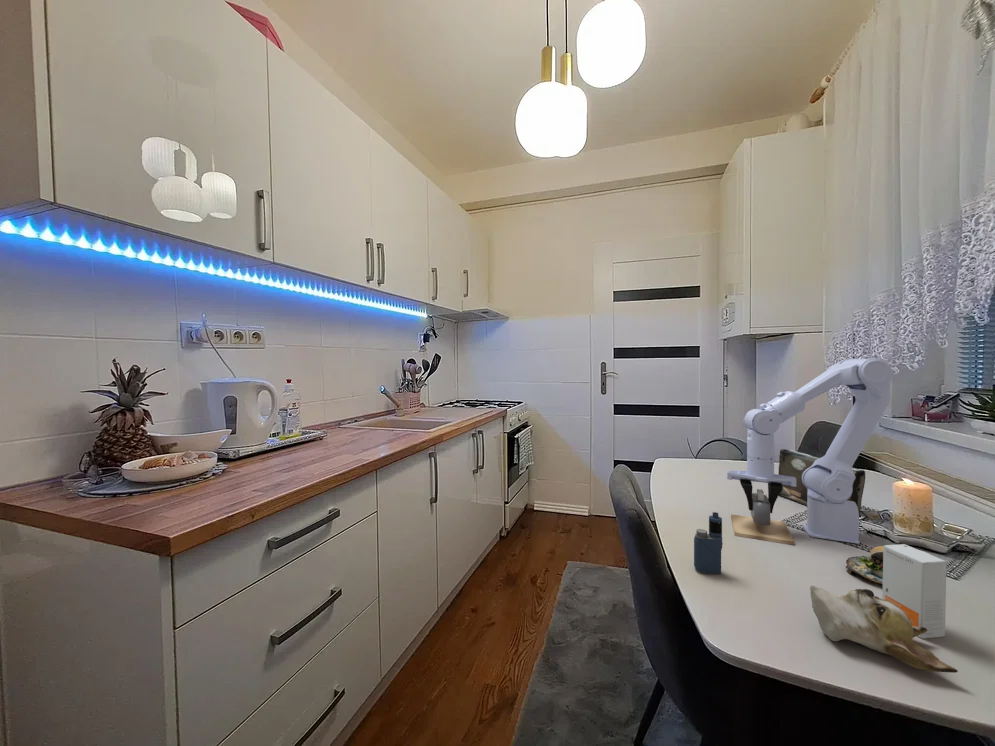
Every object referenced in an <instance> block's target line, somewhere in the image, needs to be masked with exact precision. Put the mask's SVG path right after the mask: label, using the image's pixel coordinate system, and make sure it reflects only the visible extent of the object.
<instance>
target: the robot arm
mask: <svg viewBox="0 0 995 746" xmlns="http://www.w3.org/2000/svg"><path fill="white" fill-rule="evenodd" d="M895 376H896V374H895V373H894V371H893V370H892V368H891V366H890V364H889V363H888V362H887V361H886V360H884V359H882V358H879V357H870V358H849V357H848V358H845V359H842V360H840V361H839V362H838V363H835V364H833V365H831V366H830V367H828V369H827V370H825V371H824V372H823V373H821V374H819V375H818V376H816V377H814V378H813V379H812V380H810V381H809V382H807V383H806V384H805V385H803V386H801V387H800V388H798V389H797V390H796V391H790V390H787V391H779V392H778V393H776V397H774V398H772V399H771V400H770V401H768V402H765V403H761V404H759V408H753V409H751V410H749V411H747V412H746V414H745V415H744V418H743V419H742V423H743V425H744V427H745V428H746V431H747V435H746V436H747V438H746V470H726V479H727V480H728V481H731V480H737V481H739V482H740V485H741V488H742V489H743V492H744V494H745V496H746V501H747V507H748V510H749V511H750V512H751V511H752V508H753V505H752V493H753V482H755V483H765V484H767V498H768V500H769V502H770V514H773V510H774V506H775V504H776V502H777V499H778V498H779V496H780V495H779V494H780V493H781V492H782V489H783V487H782V485H790V486H794V487H796V478H795V477H790V476H784V475H779V473H778V474H777V473H775V433H776V432H778V430H779V428H780V425H781V424H783V423H784V422H786V421H788V420H790V419H791V418H792V417H794V416H796V415H798V414H799V413H802V412H803V411H804V410H805V409H806V404H807V403H808V402H809V401H812V400H813V399H815V398H817V397H819V396H821V395H822V394H825V393H827V392H829V391H831V390H832V389H834V388H836V387H838V386H845V387H846V388H847V389H849V390H850V392H851V393H852V394H853V396H854V398H855V401H854V403H853V406H852V407H851V409H850V410H849V412H848V414H847V416H846V418H845V419H844V421H843V422H842V425H841V427H839V430H838V431H837V434H836V435H835V437H834V438H833V440H832V442H831V444H830V446H829V448H828V449H827V451H826V453H825V454H824V455H823V456H822V457H818V458H819V459H817V460H815V461H814V463H813V465H812V466H811V467H809V468H808V469H806V470H805V471H804V472H803V474H802V482H803V484H804V485H805V486H806V487H807V495H808V496H807V508H806V514H807V515H806V517H807V518H806V519H807V520H806V521H807V522H806V523H804V522H803V523H802V527H803V528H804V531H805V532H806V534H807V535H808V536H809V537H812V538H818V539H823V540H829V541H830V540H831V541H836V542H844V543H851V544H857V545H858V544H861V541H860V519H859V512H858V507H857V505H856V503H855V502H853V501H848V500H847V499H848V498H849V497H850V496H851V495H852V491H853V488H852V485H853V482H854V480H855V478H856V477H855V475H854V472H853V470H852V467H853V466H854V464H855V463H856V460H857V459H858V458H859V455H860V454H861V452H862V451H863V448H864V447H865V446H866V445H865V444H867V442H868V440H869V438H870V436H871V434H872V433H873V431H874V429H875V428H876V426H877V424H878V423H879V421H880V419H881V417H882V415H883V414H884V412H885V411H886V409H887V407H888V405H889V403H890V401H891V382H892V381H893V379H894V377H895Z"/></svg>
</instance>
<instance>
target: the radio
mask: <svg viewBox="0 0 995 746" xmlns="http://www.w3.org/2000/svg"><path fill="white" fill-rule="evenodd" d="M778 457H779V459H778V475H784V476H790V477H795V478H796V487H794V486H790V485H782V487H783V489H782V492H781V493H780V494H779V496H781V497H783V498H786V499H787V500H791V501H793V502H796V503H798V504H801V505H804V506H807V496H808V495H807V487H806V486H805V485H804V484H803V482H802V474H803V472H804V471H805V470H806V469H808V468H809V467H811V466H812V465H813V463H814V461H815V460H817V459H819V458H820V457H816V456H813V455H811V454H807V453H804V452H799V451H795V450H793V449H786V448H781V449H780V450H779V456H778ZM852 470H853V472H854V475H855V477H856V478H855V480H854V482H853V485H852V488H853V491H852V495H851V496H850V497H849V498H848V499H847V500H848V501H853V502H855V503H856V505H857V507H858V512H859V517H861V516H863V515H862V514H861V508H862V502H863V501H862V499H863V494H864V490H865V483H866V482H865V481H866V471H865V470H863V469H859V468H855V467H853V466H852Z"/></svg>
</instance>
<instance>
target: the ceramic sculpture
mask: <svg viewBox="0 0 995 746" xmlns="http://www.w3.org/2000/svg"><path fill="white" fill-rule="evenodd" d="M809 591H810V599H811V608H812V611H813V613H814V614H815V617H816V618H817V621H818V624H819V627H820V630H821V631H822V632H823V634H824V635H826V637H828V638H829V640H830V641H833V642H839V641H841V640H848V641H852V642H855V643H858V644H859V645H863V646H864V647H866V648H869V649H871V650H874V651H876V652H878V653H879V652H880V653H882V654H886V655H889V656H891V657H894V658H895V659H897V660H898V661H901V663H904V664H907V665H908V666H910V667H912V668H915V669H918V670H923V671H928V672H937V673H954V674H955V673H958V671H959V670H958V669H956V668H955V667H953V666H951V665H949V664H947V663H945V662H944V661H941V660H940V659H939V657H937V656H936V655H934V653H932V652H931V651H930V650H928V649H926V648H924V647H922V646H920V645H919V644H917V643H916V642H914V638H915V637H918V636H919V635H920V634H923V633H925V632H927V631H928V630H927V628H924V627H920V626H912V623H911V621H910V619H909V618H908V617H907V615H906V614H905V613H904V612H903V611H902V610H901V609H900V608H899V607H898V606H896V605H895V604H894V603H892V602H890V601H889V600H885V599H882V598H880V597H879V596H875V594H874V591H873V590H871V589H868V588H867V589H866V588H863V589H862V588H855V589H852V590H849V592H848V593H847V594H846V595H840V594H836V593H832V592H830V591H829V590H826V589H824V588H821V587H818V586H815V585H810V587H809Z"/></svg>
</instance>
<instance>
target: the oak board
mask: <svg viewBox="0 0 995 746" xmlns="http://www.w3.org/2000/svg"><path fill="white" fill-rule="evenodd" d="M730 518H731V523H732V529H733V534H734V535H733V536H735V537H743V538H748V539H754V540H761V541H765V542H771V543H773V542H774V543H779V544H785V545H791V546H792V545H793V546H795V539H794V537H793V536H792V534H791V532H790V531H789V528H788V526H787V524H786V522H785V521H783V520H775V519H770V525H767V526H765V525H759V524H756V523H754V522H753V519H752V516H745V515H738V514H732V513H731V515H730Z"/></svg>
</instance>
